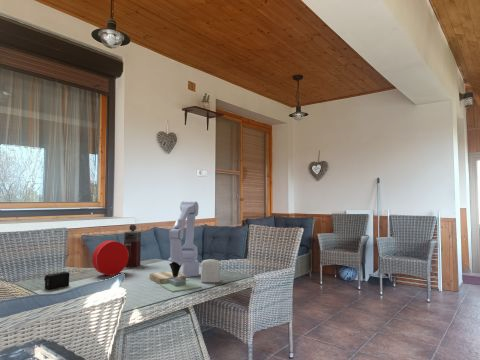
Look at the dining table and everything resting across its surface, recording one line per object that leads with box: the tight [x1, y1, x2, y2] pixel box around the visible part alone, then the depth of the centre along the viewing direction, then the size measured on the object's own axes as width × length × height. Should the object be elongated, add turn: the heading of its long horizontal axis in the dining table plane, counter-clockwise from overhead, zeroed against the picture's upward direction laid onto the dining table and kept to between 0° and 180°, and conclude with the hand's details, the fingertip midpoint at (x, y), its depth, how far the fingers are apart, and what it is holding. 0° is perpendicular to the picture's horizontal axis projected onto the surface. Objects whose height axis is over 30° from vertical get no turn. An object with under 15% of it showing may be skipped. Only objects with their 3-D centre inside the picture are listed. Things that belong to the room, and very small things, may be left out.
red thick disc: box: [91, 240, 129, 276], centre depth 207 cm, size 20×6×20 cm, turn 136°
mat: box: [159, 279, 202, 293], centre depth 179 cm, size 16×16×1 cm
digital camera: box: [43, 271, 70, 291], centre depth 177 cm, size 10×5×7 cm, turn 148°
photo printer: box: [200, 258, 221, 283], centre depth 189 cm, size 10×4×12 cm, turn 94°
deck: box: [148, 270, 187, 286], centre depth 193 cm, size 15×16×3 cm
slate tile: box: [168, 278, 187, 286], centre depth 182 cm, size 6×9×2 cm, turn 35°
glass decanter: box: [123, 223, 142, 268], centre depth 233 cm, size 9×11×28 cm
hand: (175, 276), depth 184 cm, fingers closed
